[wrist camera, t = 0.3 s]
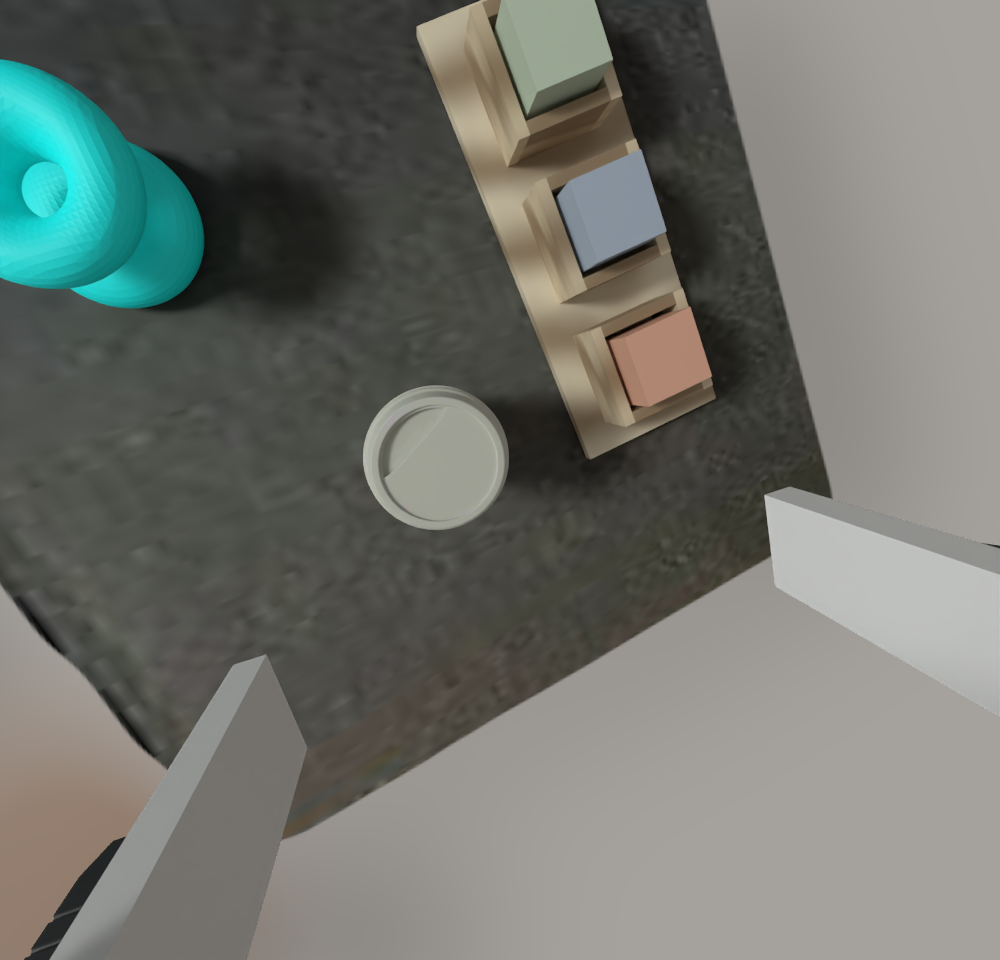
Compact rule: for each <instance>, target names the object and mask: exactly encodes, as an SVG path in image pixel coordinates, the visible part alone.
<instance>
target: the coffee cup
mask: <svg viewBox="0 0 1000 960" xmlns="http://www.w3.org/2000/svg"><path fill="white" fill-rule="evenodd" d="M363 464H364V471H365V475H366V478H367V481H368V484H369V486H370V488H371V490H372V492H373V494H374V496H375V497H376V499H377V500H378V501H379V503H380V504H381V505H382V506H383V507H384V508H385V509H386V510H387V511H388V512H389V513H390V514H391V515H393V516H394V517H396V518H397V519H399V520H401V521H402V522H404V523H407V524H409V525H412V526H415V527H418V528H423V529H430V530H443V529H450V528H455V527H458V526H461V525H464V524H466V523H468V522H470V521H472V520H474V519H476V518H477V517H479V516H480V515H481V514H483V513H484V512H485V511H486V510H487V509H488V508H489V507H490V506H491V505H492V504H493V503H494V501H495V500H496V498H497V497H498V495H499V494H500V492H501V490H502V488H503V486H504V483H505V480H506V477H507V473H508V466H509V451H508V444H507V439H506V436H505V433H504V430H503V428H502V426H501V424H500V422H499V420H498V419H497V417H496V416H495V414H494V413H493V412H492V411H491V410H490V409H489V408H488V406H486V405H485V404H484V403H483V402H482V401H481V400H479V399H478V398H476V397H475V396H473V395H471V394H469V393H467V392H465V391H463V390H460V389H457V388H453V387H448V386H424V387H419V388H415V389H412V390H409V391H407V392H405V393H403V394H401V395H399V396H397V397H396V398H394V399H393V400H391V401H390V402H389V403H388V404H387V405H386V406H384V407H383V409H382V410H381V411H380V412H379V413H378V414H377V416H376V417H375V419H374V420H373V422H372V424H371V426H370V428H369V430H368V433H367V436H366V439H365V443H364V450H363Z"/></svg>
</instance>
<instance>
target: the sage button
mask: <svg viewBox="0 0 1000 960" xmlns="http://www.w3.org/2000/svg"><path fill="white" fill-rule="evenodd" d="M494 37H495V39H496V42H497V45H498V48H499V50H500V53H501V56H502V59H503V61H504V64H505V67H506V69H507V72H508V75H509V78H510V80H511V83H512V86H513V89H514V91H515V94H516V97H517V100H518V102H519V105H520V108H521V110H522V113H523V116H524V119H525V121H528V120H530V119H532V118H535V117H537V116H539V115H542V114H544V113H546V112H549V111H551V110H553V109H556V108H558V107H560V106H563V105H565V104H567V103H570V102H572V101H574V100H577V99H579V98H581V97H584V96H586V95H588V94H591V93H593V91H594V90H595V88H596V87H597V85H598V83H599V82H600V80H601V78H602V77H603V75H604V74H605V72H606V70H607V69H608V67H609V65H610V64H611V62H612V61H613V57H612V54H611V51H610V48H609V45H608V41H607V38H606V35H605V32H604V29H603V25H602V22H601V19H600V16H599V13H598V9H597V6H596V3H595V0H501V4H500V8H499V13H498V17H497V21H496V26H495V30H494Z"/></svg>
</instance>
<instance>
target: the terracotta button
mask: <svg viewBox="0 0 1000 960" xmlns="http://www.w3.org/2000/svg"><path fill="white" fill-rule="evenodd" d="M606 343H607V346H608V348H609V351H610V354H611V356H612V359H613V362H614V365H615V367H616V370H617V373H618V376H619V378H620V381H621V384H622V387H623V389H624V392H625V395H626V397H627V400H628V403H629V405H637V406H646V407H650V406H652V405H654V404H656V403H658V402H660V401H662V400H664V399H666V398H669V397H671V396H673V395H675V394H677V393H679V392H681V391H683V390H685V389H687V388H689V387H691V386H693V385H695V384H697V383H700V382H702V381H704V380H706V379H708V378H710V377H712V374H711V371H710V368H709V365H708V362H707V358H706V355H705V352H704V349H703V346H702V342H701V339H700V336H699V333H698V330H697V326H696V323H695V320H694V317H693V314H692V310H691V307H687V308H684V309H680V310H676V311H672V312H669V313H665V314H661V315H659V316H657V317H655V318H653V319H650V320H648V321H646V322H644V323H642V324H640V325H638V326H635V327H633V328H631V329H629V330H627V331H625V332H623V333H621V334H618V335H616V336H614V337H612V338H610V339H608V340H606Z"/></svg>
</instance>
